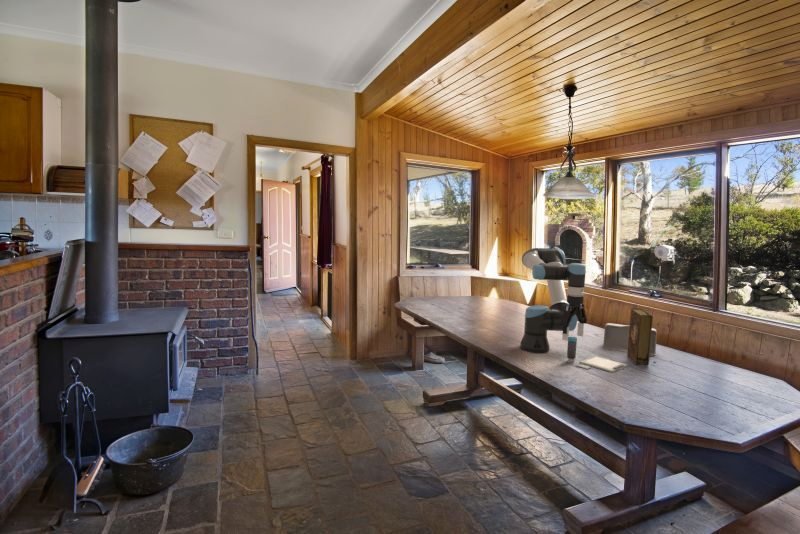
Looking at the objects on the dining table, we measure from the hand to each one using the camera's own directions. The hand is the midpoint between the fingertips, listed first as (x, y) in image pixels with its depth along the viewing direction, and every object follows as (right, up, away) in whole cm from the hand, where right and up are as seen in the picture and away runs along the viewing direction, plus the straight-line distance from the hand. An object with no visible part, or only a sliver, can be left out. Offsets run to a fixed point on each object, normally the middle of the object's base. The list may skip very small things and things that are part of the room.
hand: (572, 338), depth 220 cm
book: (+34, -12, +5) cm, 37 cm away
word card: (+3, -13, -6) cm, 14 cm away
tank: (+41, -10, +27) cm, 50 cm away
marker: (0, -12, +2) cm, 12 cm away
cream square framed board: (+14, -13, -2) cm, 19 cm away
